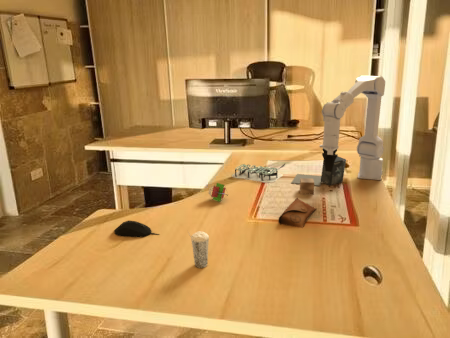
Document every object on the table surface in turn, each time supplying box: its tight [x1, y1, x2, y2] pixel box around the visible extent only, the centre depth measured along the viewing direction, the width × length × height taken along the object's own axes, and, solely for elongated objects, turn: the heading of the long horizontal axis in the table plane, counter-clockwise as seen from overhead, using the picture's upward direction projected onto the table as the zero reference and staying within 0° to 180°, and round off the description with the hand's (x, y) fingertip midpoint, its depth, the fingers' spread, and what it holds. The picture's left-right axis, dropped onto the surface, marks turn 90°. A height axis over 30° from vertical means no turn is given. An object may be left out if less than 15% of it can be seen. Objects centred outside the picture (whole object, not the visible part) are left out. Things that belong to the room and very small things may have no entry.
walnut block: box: [299, 178, 315, 196], centre depth 150 cm, size 5×5×5 cm
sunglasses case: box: [278, 197, 317, 229], centre depth 128 cm, size 18×7×7 cm, turn 154°
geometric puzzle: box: [208, 182, 229, 203], centre depth 143 cm, size 7×7×8 cm
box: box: [320, 155, 347, 186], centre depth 159 cm, size 8×6×11 cm
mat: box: [290, 173, 323, 187], centre depth 164 cm, size 12×13×1 cm
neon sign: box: [231, 163, 286, 184], centre depth 178 cm, size 21×4×29 cm
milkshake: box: [187, 230, 210, 269], centre depth 98 cm, size 4×5×10 cm
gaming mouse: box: [113, 220, 160, 238], centre depth 118 cm, size 6×15×4 cm, turn 78°
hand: (328, 168), depth 147 cm, fingers open, 7 cm apart
